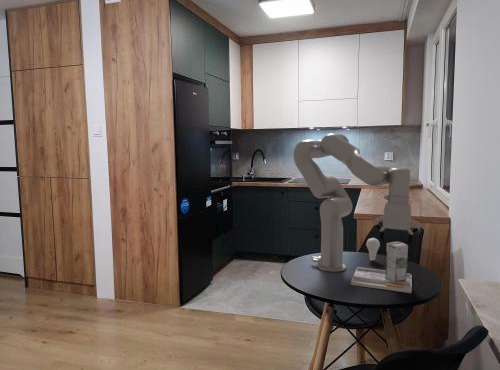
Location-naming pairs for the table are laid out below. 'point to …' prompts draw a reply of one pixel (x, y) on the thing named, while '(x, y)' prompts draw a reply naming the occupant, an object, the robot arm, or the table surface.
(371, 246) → the lightbulb
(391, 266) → the syrup box
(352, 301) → the table surface
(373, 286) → the mounting plate
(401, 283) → the metal tray
